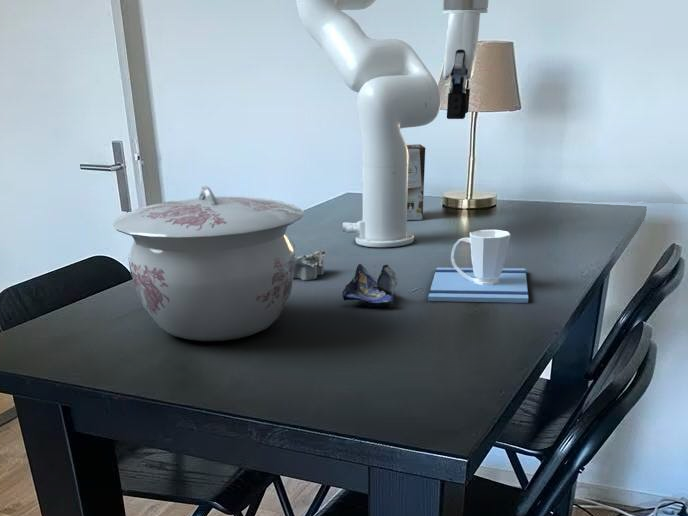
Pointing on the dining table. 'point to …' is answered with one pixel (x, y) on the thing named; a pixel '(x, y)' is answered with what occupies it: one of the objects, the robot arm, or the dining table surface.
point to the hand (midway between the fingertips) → (457, 115)
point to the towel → (479, 287)
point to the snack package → (372, 287)
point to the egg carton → (309, 265)
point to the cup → (485, 255)
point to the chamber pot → (212, 263)
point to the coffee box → (415, 181)
